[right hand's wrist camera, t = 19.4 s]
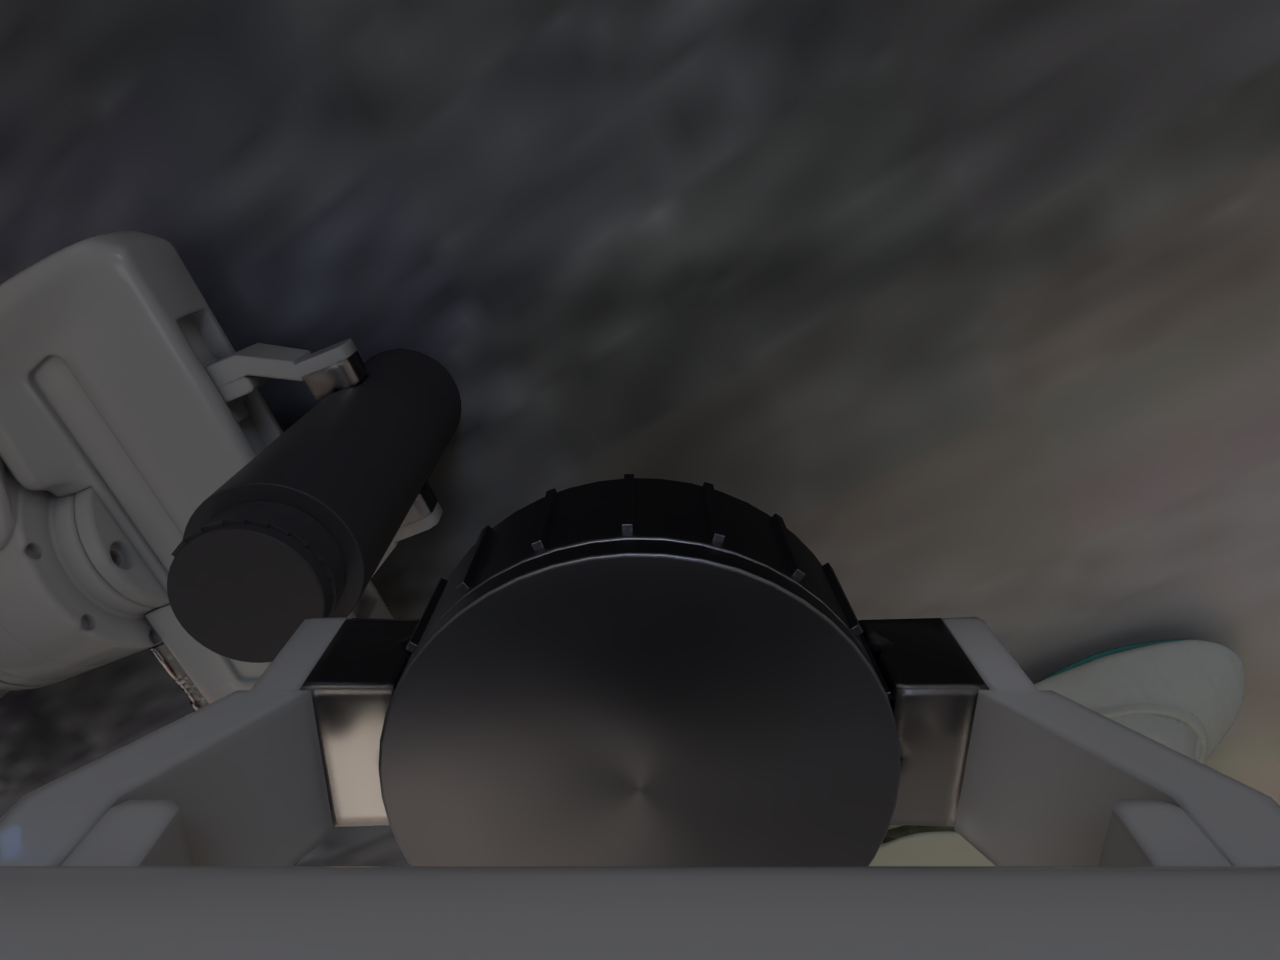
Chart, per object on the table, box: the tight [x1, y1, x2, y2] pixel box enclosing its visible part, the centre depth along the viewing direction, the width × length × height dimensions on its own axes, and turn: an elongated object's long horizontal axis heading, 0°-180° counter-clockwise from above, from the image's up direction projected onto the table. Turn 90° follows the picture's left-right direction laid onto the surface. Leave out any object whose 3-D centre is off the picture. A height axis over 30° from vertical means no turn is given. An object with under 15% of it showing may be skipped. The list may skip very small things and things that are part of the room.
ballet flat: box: [869, 639, 1245, 866], centre depth 40 cm, size 8×24×8 cm, turn 108°
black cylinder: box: [167, 349, 461, 663], centre depth 28 cm, size 5×5×17 cm
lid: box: [378, 474, 901, 866], centre depth 9 cm, size 6×6×2 cm
